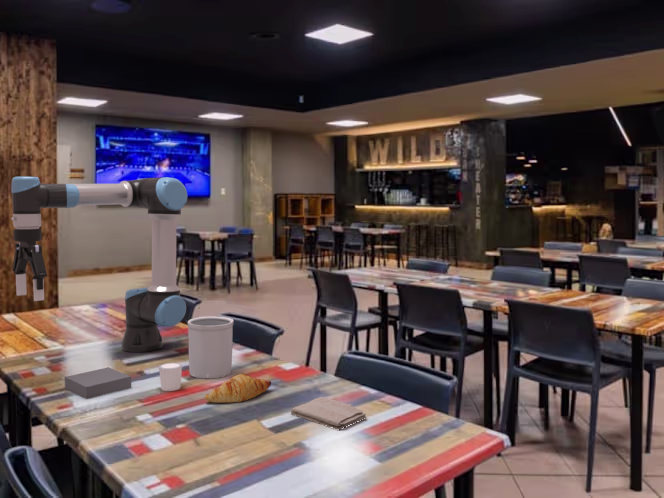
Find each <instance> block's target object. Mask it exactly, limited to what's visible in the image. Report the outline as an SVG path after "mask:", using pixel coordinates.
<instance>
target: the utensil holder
mask: <svg viewBox="0 0 664 498" xmlns="http://www.w3.org/2000/svg"><path fill="white" fill-rule="evenodd" d="M234 323H235V322H234V319H233V318H231V317H226V316H216V315H215V316H212V315H211V316H210V315H209V316H200V317H199V316H198V317H195V318H191V319H189V320H188V321H187V327H188V369H189V375H190V376H192V377H193V378H197V379H206V378H207V379H208V378H209V379H218V378H219V377H220V378H223V376H224V377H226V375H227V376H229V375H230V374H231V373H232V368H233V367H232V365H233V363H232V362H233V332H234V331H233V329H234V328H233V326H234ZM220 378H219V379H220Z"/></svg>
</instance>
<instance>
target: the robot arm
mask: <svg viewBox="0 0 664 498" xmlns="http://www.w3.org/2000/svg"><path fill="white" fill-rule="evenodd" d="M11 179H12V180H11V191H10V193H11V204H12V205H11V206H12V217H11V218H10V219H11V221H12V226H13V228H14V229H13V230H12V231H13V241H14V242H15V246H14V247H15V249H14V256H13V262H12V269H11V270H12V272H13V273H14V274H15V288H16V296H19V297H20V296H27V294H28V293H27V291H28V290H27V270H26V268H27V266H28V263H29V266H30V269H31V272H32V275H33V276H32V278H31V279H32V284H33V287H32V288H33V302H39V301H45V288H44V287H45V284H44V283H45V281H44V280H45V278H47V277H48V273H47V269H46V264H45V261H44V257H43V252H42V251H43V250H42V245H41V244H37V242H40V241H42V237H43V236H42V229H41V228H40V227H42V214H41V209H47V208H48V209H64V208H65V209H69V208H75V207H77V206H78V207H80V206H81V207H83V206H85V207H86V206H112V205H120V206H122V207H123V208H130V207H131V208H140V209H145V210H147V215H148V216H149V217H150V219H151V285H150V286H149V287H148V286H147V287H137V288H131V289H127V290H126V291H125V298H124V301H125V306H124V307H125V330H124V331H125V332H124V333H123V337H122V341H121V350H122V351H124V352H128V353H129V352H130V353H145V352H152V351H153V352H154V351H157V350H159V349H162V348H163V347H164V343H163V341H164V340H163V337H162V335H161V331H160V328H159V327H170V328H171V327H174V326H177V325H178V324H180V322H181V321H182V320H183V319H184V317H185V315H186V311H187V305H186V304H187V303H186V301H185V300H184V298H183V297H181V288H180V286H178V285H177V220H178V219H179V217H181V215H182V214H181V213H182V209H183V208H184V207H185V205H186V204H187V201H188V191H187V188H186V187H185V185H184V184H183V182H182V181H180V180H179V179H177V178H174V177H168V176H166V177H165V176H163V177H145V178H140V179H133V180H122V181H120V183H41V181H40V178H39V177H38V176H14V177H13V178H11Z"/></svg>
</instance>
